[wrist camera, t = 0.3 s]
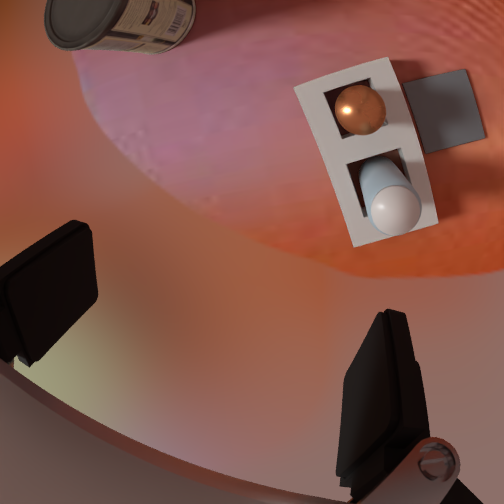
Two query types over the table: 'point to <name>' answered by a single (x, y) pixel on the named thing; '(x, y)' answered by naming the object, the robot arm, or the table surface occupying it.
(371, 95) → the plunger
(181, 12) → the coffee can
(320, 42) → the table surface
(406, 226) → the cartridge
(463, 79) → the mat
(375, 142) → the housing
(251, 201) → the table surface
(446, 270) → the table surface
